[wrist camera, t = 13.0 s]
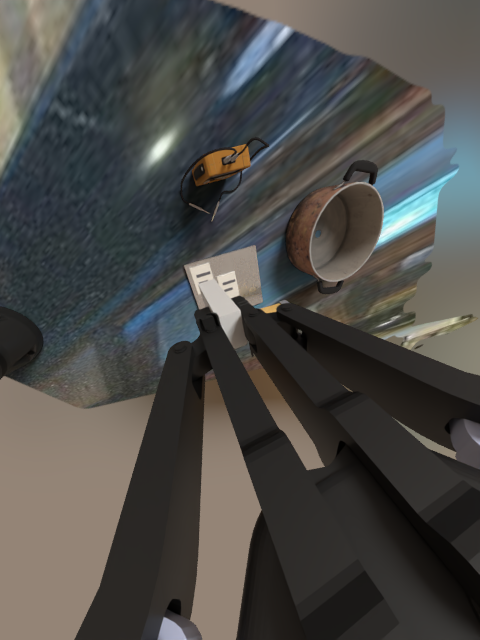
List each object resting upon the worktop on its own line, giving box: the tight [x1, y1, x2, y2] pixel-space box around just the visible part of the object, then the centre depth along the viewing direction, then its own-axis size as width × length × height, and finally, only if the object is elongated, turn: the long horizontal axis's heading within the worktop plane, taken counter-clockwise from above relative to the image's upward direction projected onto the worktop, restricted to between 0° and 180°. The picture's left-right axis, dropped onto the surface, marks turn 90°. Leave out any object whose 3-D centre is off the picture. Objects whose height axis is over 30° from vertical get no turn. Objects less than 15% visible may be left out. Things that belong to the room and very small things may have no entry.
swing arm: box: [261, 300, 289, 313], centre depth 50 cm, size 16×4×3 cm, turn 97°
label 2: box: [217, 271, 239, 298], centre depth 51 cm, size 5×7×1 cm
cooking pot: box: [286, 160, 384, 294], centre depth 51 cm, size 30×22×11 cm
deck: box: [184, 245, 263, 309], centre depth 50 cm, size 19×18×7 cm
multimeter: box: [181, 137, 269, 222], centre depth 33 cm, size 15×10×20 cm
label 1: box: [189, 263, 213, 295], centre depth 48 cm, size 5×7×1 cm
